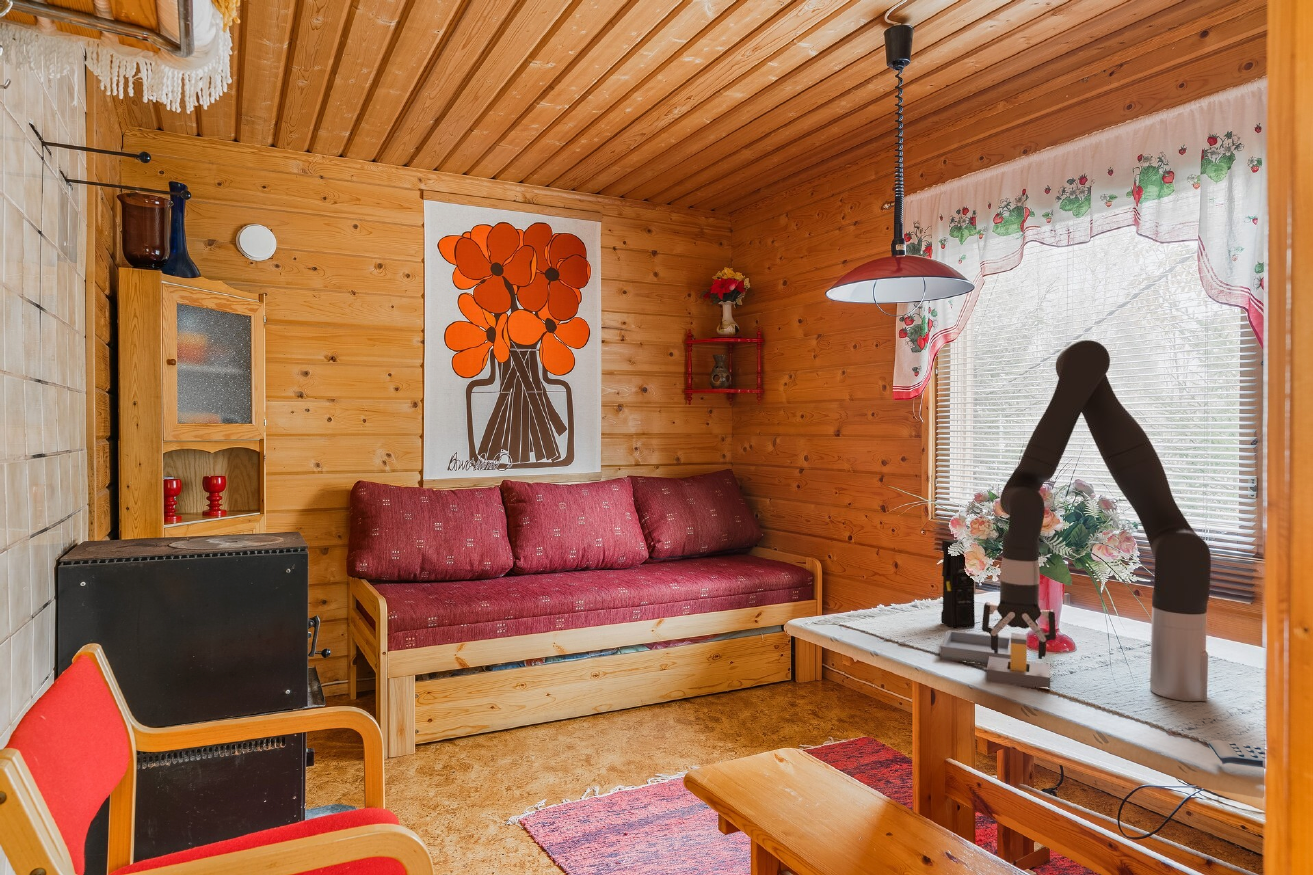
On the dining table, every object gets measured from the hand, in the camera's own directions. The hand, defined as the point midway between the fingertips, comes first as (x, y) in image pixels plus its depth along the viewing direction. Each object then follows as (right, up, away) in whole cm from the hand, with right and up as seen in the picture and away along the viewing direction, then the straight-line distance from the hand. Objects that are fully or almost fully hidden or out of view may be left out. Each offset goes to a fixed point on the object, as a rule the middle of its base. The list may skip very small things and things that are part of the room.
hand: (1017, 655), depth 169 cm
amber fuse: (0, -5, 0) cm, 5 cm away
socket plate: (0, -5, 0) cm, 5 cm away
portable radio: (+3, -4, +42) cm, 42 cm away
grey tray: (-2, -4, +16) cm, 17 cm away
